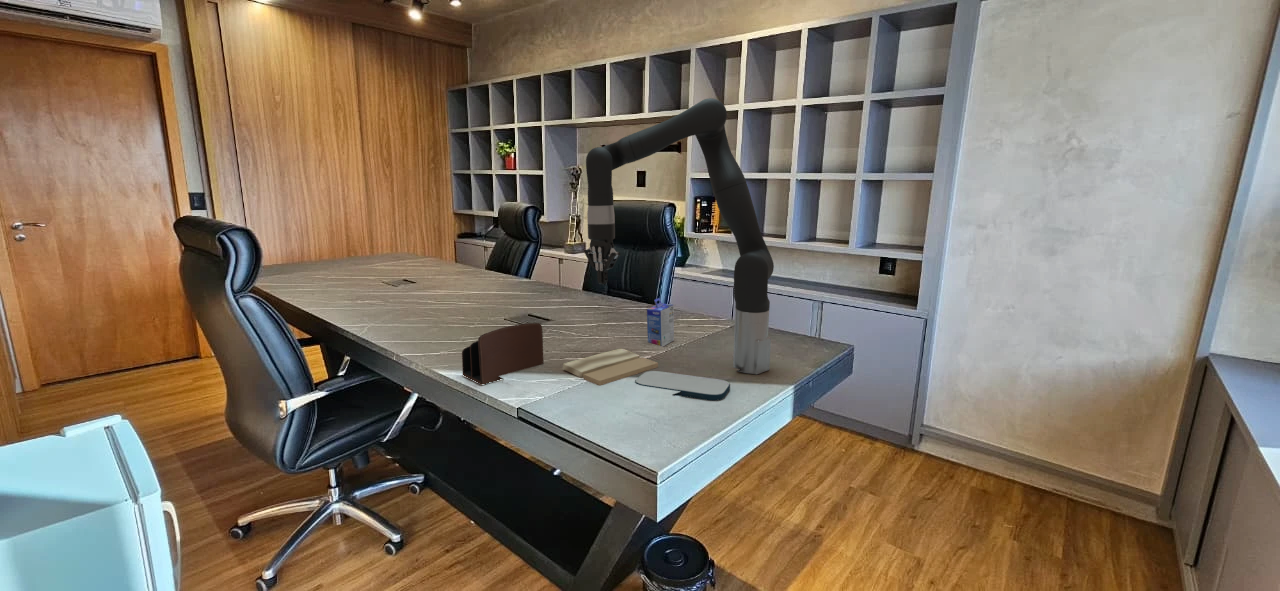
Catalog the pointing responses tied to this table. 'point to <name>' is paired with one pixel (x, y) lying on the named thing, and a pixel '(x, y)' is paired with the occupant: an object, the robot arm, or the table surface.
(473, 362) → the letter holder
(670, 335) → the ink cartridge box
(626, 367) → the tan rectangular board
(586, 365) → the ash plank
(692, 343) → the table surface
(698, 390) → the external hard drive
